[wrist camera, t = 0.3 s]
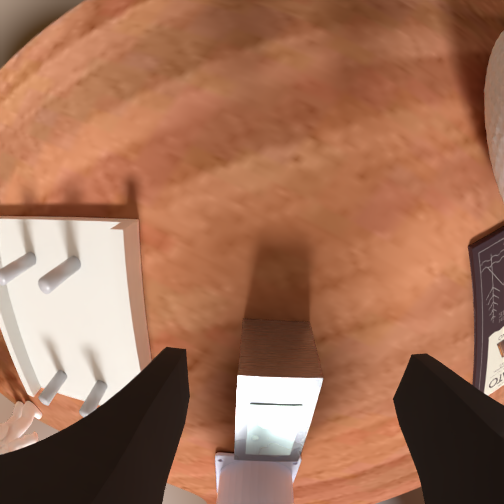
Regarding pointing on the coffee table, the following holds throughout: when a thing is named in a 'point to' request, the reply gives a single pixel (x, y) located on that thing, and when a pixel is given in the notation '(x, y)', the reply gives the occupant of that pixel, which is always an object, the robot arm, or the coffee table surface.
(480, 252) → the chocolate bar
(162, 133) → the coffee table surface
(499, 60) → the cereal bowl
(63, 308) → the tray
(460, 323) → the coffee table surface
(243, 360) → the grey rectangular block
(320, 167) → the coffee table surface
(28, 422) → the flower shoulder figurine
